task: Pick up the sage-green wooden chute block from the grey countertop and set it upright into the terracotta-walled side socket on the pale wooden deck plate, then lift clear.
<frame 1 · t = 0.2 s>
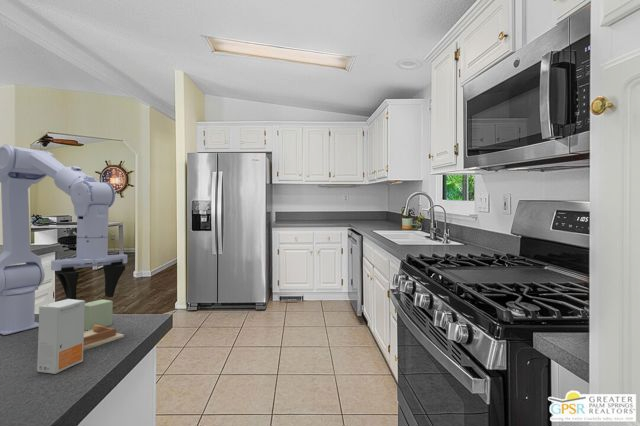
hand: (91, 299, 78), 10 cm above the countertop, fingers open, 7 cm apart
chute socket: (84, 341, 80), on the countertop
chute block: (95, 326, 91), on the countertop
skincare box: (61, 367, 67), on the countertop
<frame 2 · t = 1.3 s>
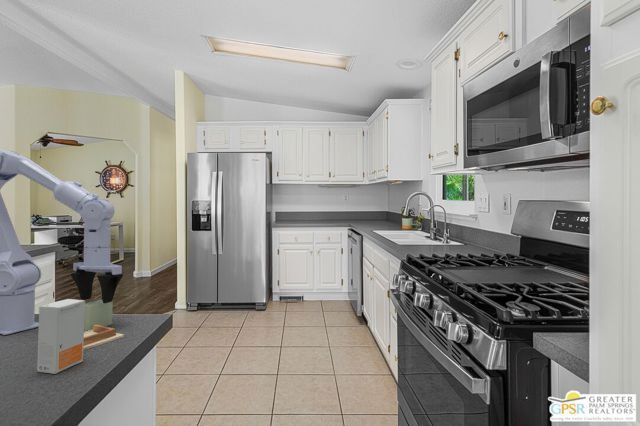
hand: (96, 300, 91), 6 cm above the countertop, fingers open, 7 cm apart
nothing on the countertop moved.
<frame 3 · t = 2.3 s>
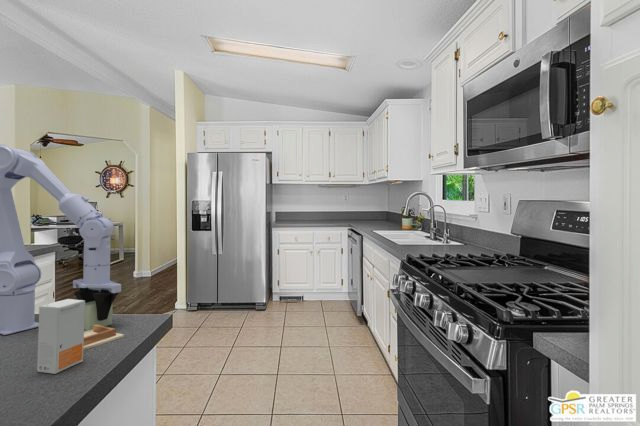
hand: (96, 318, 91), 2 cm above the countertop, fingers closed on chute block, 4 cm apart
chute block: (95, 326, 91), on the countertop, touching gripper
everything else where it was.
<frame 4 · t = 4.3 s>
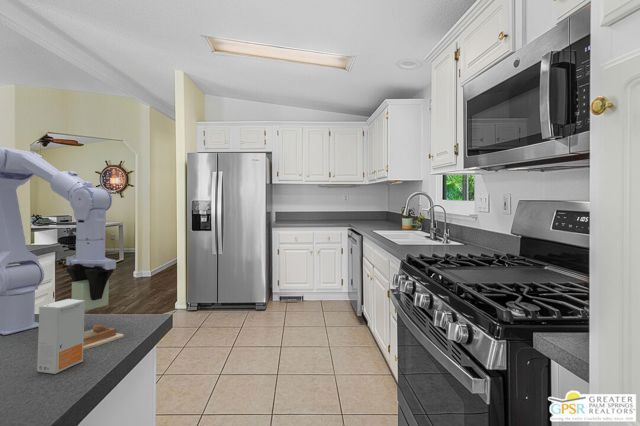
hand: (89, 298, 83), 9 cm above the countertop, fingers closed on chute block, 4 cm apart
chute block: (90, 306, 83), point 7 cm above the countertop, touching gripper
everything else where it was.
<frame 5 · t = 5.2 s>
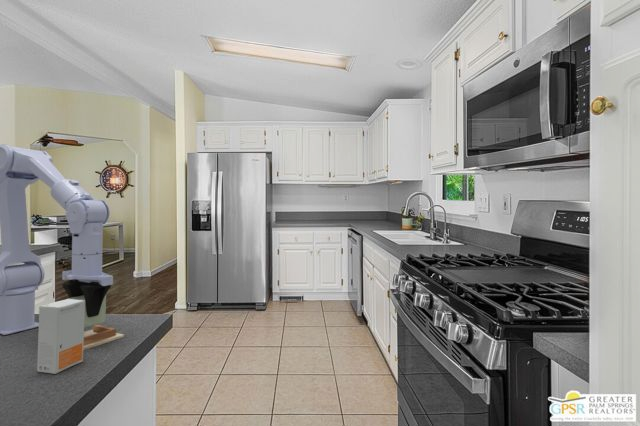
hand: (86, 314, 80), 6 cm above the countertop, fingers closed on chute block, 4 cm apart
chute block: (86, 323, 80), point 4 cm above the countertop, touching gripper
everything else where it was.
when the fingers open (3 cm above the countertop, at t = 6.1 s): chute block stays where it is, resting on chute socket.
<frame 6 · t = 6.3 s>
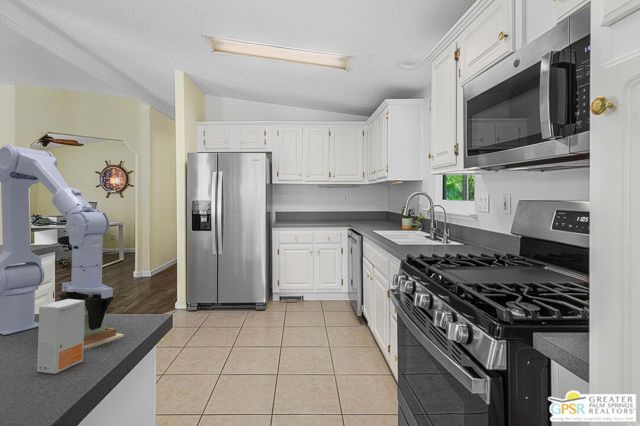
hand: (86, 326, 80), 3 cm above the countertop, fingers open, 6 cm apart
chute block: (86, 339, 80), resting on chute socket
everything else where it was.
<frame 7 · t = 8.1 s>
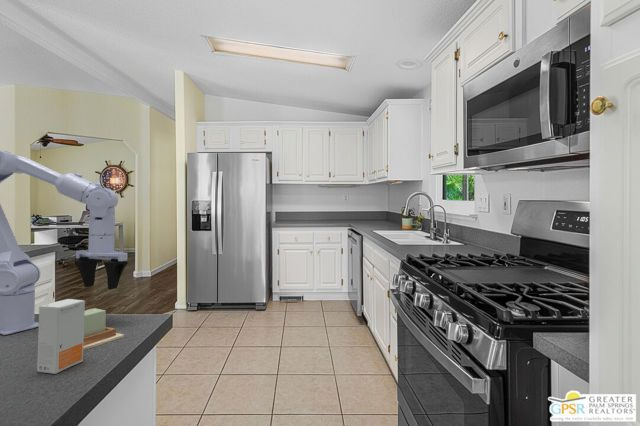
hand: (100, 287, 92), 9 cm above the countertop, fingers open, 7 cm apart
nothing on the countertop moved.
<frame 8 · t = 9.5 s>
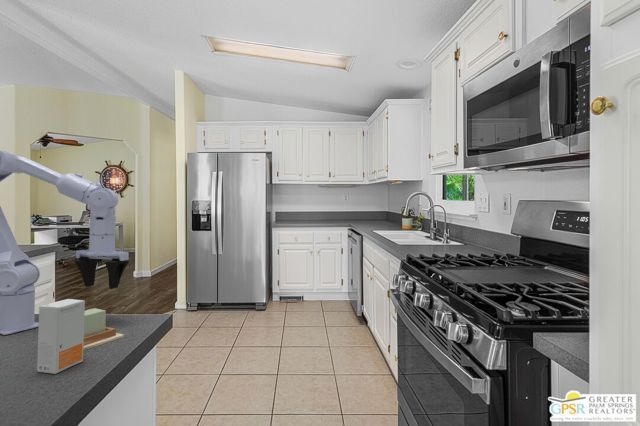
hand: (101, 287, 93), 9 cm above the countertop, fingers open, 7 cm apart
nothing on the countertop moved.
at the end: chute block 0.1 cm from the target spot, point 0.5 cm above the countertop; chute block tilted 0°; the gripper is holding nothing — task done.
